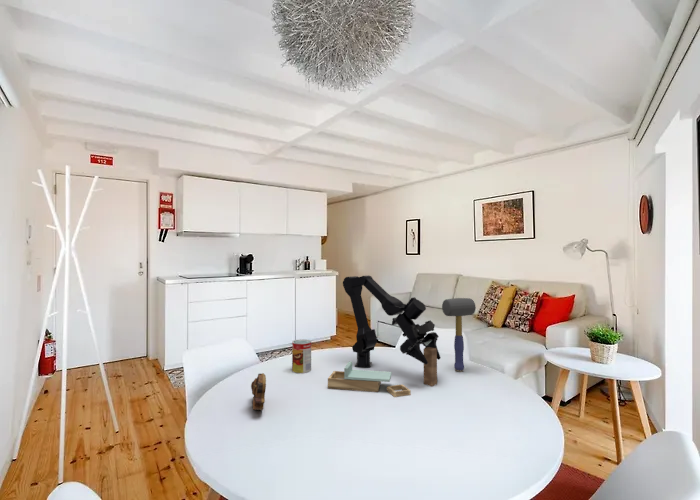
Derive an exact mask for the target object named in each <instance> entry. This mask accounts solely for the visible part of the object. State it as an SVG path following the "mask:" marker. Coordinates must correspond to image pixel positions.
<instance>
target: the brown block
mask: <svg viewBox="0 0 700 500" xmlns="http://www.w3.org/2000/svg"><path fill="white" fill-rule="evenodd" d="M437 349H438V348H437ZM437 349H436V348H431V347H427V348H425V347H424V348H423V355H424V356H425V358H426V360H427V362H428V364H424V363H423V385H426V386H430V387H434V386H436V385H438V359H437Z"/></svg>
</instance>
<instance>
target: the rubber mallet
mask: <svg viewBox="0 0 700 500" xmlns="http://www.w3.org/2000/svg"><path fill="white" fill-rule="evenodd" d="M476 307H477V306H476V302H475V301H474V299H473V298H469V297H467V298H466V297H465V298H464V297H455V298H454V297H453V298H447V299H444V300H443V301H442V305H441V309H442V313H443V314H444V315H445V316H446V317H455V336H454V343H453V347H454V366H453V368H454V370H455V371H456V372H463V371H464V369H465V363H464V350H465V344H464V341H465V340H464V337H463V336H464V335H463V318H462V317H463V316H464V317H465V316H471V315H473V314H475V312H476Z"/></svg>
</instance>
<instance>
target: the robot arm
mask: <svg viewBox="0 0 700 500" xmlns="http://www.w3.org/2000/svg"><path fill="white" fill-rule="evenodd" d="M342 286H343V289H344V291H345V293H346V294H347V295H348V297H349V298H350V302H351V306H352V310H353V313H354V318H355V319H354V320H355V323H356V327H357V332H356V337H355V338H356V342H355V343H354V344H353V345H352V352H353V353H356V363H355V365H354V367H356V368H371V366H372V364H373V362H372V361H371V351H374V349H375V346H376V345H377V343H378V336H377V334H376V333H377V332H376V329H375V328H373V329H372V328H371V327H370V325H369V322H368V317H367V314H366V309H365V306H364V305H365V304H364V301H363V298H362V291H363V287H364V288H366V290H368V292H370V293H371V294H372V295H373V297H374V298H375V299H376V300H377V301H378V302H379V303H380V304H381V305H380V306H381V308H382V309H383V311H384V312H385V314H386V315H388V316H390V317H392V316H396V317H393V318H392V322H391V326H395V325H397V326H398V327H399V328H400V330H401V331H402V336H403V337H406V339H405V340H404V342H403V343H402V344H401V345H400V346H399V350H400V353H402V354H403V355H404V354H406V355H408V356H410V357H412V358H413V359H415V360H417V361H419V362H421V363H422V364H423V365H424V364H428V362H427V360H426V358H425V356H424V352H422V350H421V345H423V346H424V348H427V347H431V348H436V349H437V361H439V360H440V359H441V355H440V352H439V350H438V347H437V341H438V338H439V335H438V334H437V332H435V326H436V324H435V323H433V321H431V320H428V321H425V322H424V323H423V324H421V325H420V324H419V323H415V322H414V321H415V320H418V318H419V317H420V316H421V315H422V314H423V313H424V312H425V311H426V310H427V307H426V305H425V304H424V302H422V301H421V300H419V299H417V298H416V297H411V298H410V299H409V301H408V302H407V303H404V302H402V300H400V299H399V298H397V297H395V296H393V295H390V294H389V293H388V292H387V291H386V290H385V289H384V288H383V287H382V286H381V285H379V283H378V282H376V280H374V279H373V277H372V276H371V275H362V276H355V275H354V276H346V277H345V278H343V280H342Z"/></svg>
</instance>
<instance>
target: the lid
mask: <svg viewBox="0 0 700 500" xmlns="http://www.w3.org/2000/svg"><path fill="white" fill-rule="evenodd" d="M343 369H344V371H343V372H344V379H351V380H366V381H381V383H382V382H384V383H390V382H391V379H392V374H393V373H392V371H381V370H363V369H353V361H348V362H347V364H346V365H345V366H344V368H343Z"/></svg>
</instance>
